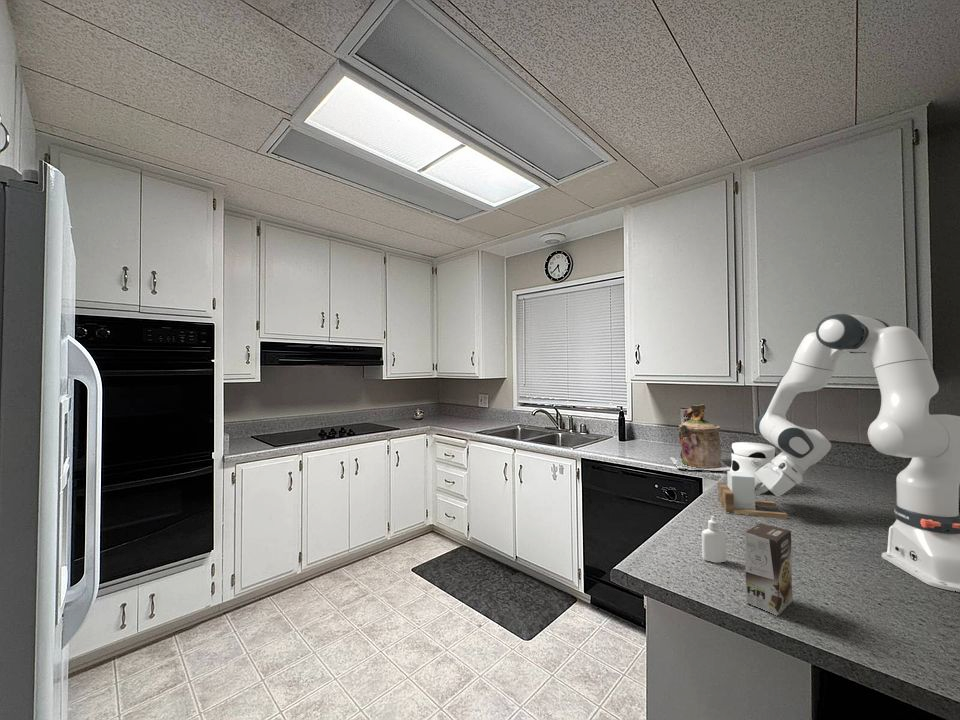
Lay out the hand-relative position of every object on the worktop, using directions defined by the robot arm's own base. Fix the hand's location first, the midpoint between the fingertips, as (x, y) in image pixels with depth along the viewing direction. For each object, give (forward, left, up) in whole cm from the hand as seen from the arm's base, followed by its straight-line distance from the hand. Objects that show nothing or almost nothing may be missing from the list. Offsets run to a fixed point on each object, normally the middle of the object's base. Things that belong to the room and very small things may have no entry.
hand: (754, 493), depth 148 cm
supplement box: (0, +4, -6) cm, 7 cm away
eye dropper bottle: (-46, +21, -6) cm, 51 cm away
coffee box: (-64, +13, -6) cm, 66 cm away
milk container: (+28, -6, -6) cm, 29 cm away
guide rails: (0, +1, -6) cm, 6 cm away
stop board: (0, +9, -6) cm, 11 cm away
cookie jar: (+61, +9, -6) cm, 62 cm away
